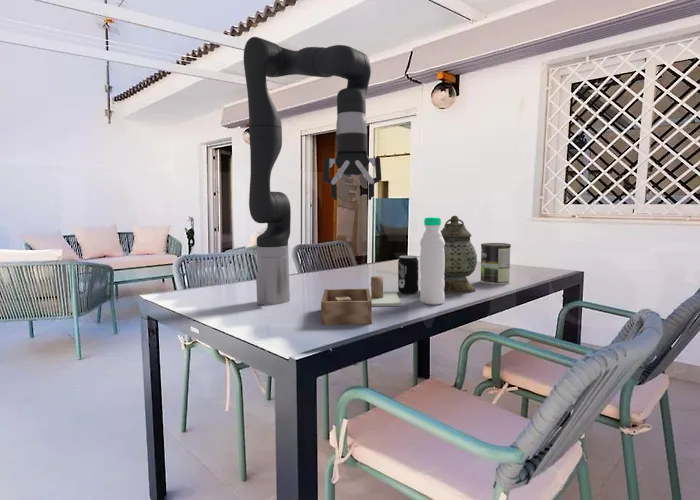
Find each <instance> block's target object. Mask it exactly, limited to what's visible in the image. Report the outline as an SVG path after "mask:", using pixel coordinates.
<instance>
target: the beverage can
mask: <svg viewBox="0 0 700 500" xmlns="http://www.w3.org/2000/svg"><path fill="white" fill-rule="evenodd" d="M397 269H398V270H397V271H398V272H397V276H398V277H397V278H398V279H397V282H398V283H397V284H398V285H397V290H398V292H399V293H400V294H403V295H416V294H417V293H418V292H419V259H418V256H417V255H411V254H410V255H399V259H398V262H397Z"/></svg>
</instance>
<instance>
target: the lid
mask: <svg viewBox="0 0 700 500" xmlns="http://www.w3.org/2000/svg"><path fill="white" fill-rule="evenodd" d="M369 292H370V297H371V301H372V307H402V306H403V305H402V301H401V299H400V297H399V295H398V294H397V292H396V290H395V291H384V277H383V276H379V275H378V276H371V277H370V291H369Z"/></svg>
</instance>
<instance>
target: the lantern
mask: <svg viewBox="0 0 700 500" xmlns="http://www.w3.org/2000/svg"><path fill="white" fill-rule="evenodd" d="M449 222H450V223H449ZM459 222H460V223H459ZM443 226H444V227H443V228H442V229H441V230H440V232H441V234H442V237H443V239H444V241H445V246H444V253H445V271H444V282H445V286H444V294H456V295H461V294H473V293H474V292H476V290H477V289H476V287H474V286H473V285H472V284H471V283H470V281H468V279H467V277H470V276H471V275H472V274H473V273H474V271H475V270H476V266H477V263H478V254H477V252H476V249H475V246H474V245H473V244H472V242H471V237H472V234H471V232H470V231H469V230H468V229H467V228H466V226H465V222H464V221H463V220H461V219H460V218H459V216H457V215H453V216H451V217H450V218H449V219H447V221H446V222H445V224H444V225H443Z"/></svg>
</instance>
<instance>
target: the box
mask: <svg viewBox="0 0 700 500" xmlns="http://www.w3.org/2000/svg"><path fill="white" fill-rule="evenodd" d="M370 292H371V291H370V289H369V288H329V289H324V291H323V294H322V297H321V298H322V299H321V300H320V315H321V316H320V318H321V319H320V321H321V323H320V324H321V325H322V326H327V325H328V326H329V325H331V326H332V325H372V324H373V322H372V321H373V314H372V313H373V312H372V311H373V308H372V307H373V306H372V301H371V297H370ZM347 296H348V297H349V298H351V301H335V297H347Z"/></svg>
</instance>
